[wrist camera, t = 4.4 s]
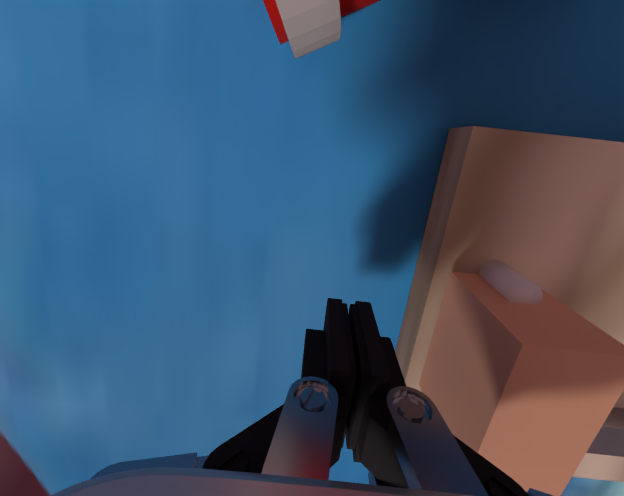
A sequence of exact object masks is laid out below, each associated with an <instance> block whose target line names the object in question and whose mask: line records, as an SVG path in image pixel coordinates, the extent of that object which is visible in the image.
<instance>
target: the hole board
mask: <svg viewBox="0 0 624 496" xmlns="http://www.w3.org/2000/svg"><path fill="white" fill-rule="evenodd" d="M491 260H500V261H502V262H503V263H505V264H506V265H508V266H509V267H511V268H512V269H514V270H515V271H516V272H518V273H519V274H521V275H522V276H524V277H525V278H527V279H528V280H530V281H531V282H533V283H534V284H536V285H537V286H539V287H540V288H541V289H543V290H544V291H546V292H547V293H548V294H550V295H551V296H553V297H554V298H556V299H557V300H559V301H560V302H562V303H563V304H565V305H566V306H568V307H569V308H570V309H572V310H573V311H575V312H576V313H578V314H579V315H581V316H582V317H584V318H585V319H587V320H588V321H590V322H591V323H592V324H594V325H595V326H597V327H598V328H600V329H601V330H603V331H604V332H606V333H607V334H609V335H610V336H612V337H613V338H614V339H616V340H617V341H619V342H620V343H622V344H623V345H624V142H616V141H607V140H598V139H589V138H579V137H570V136H561V135H552V134H543V133H534V132H524V131H515V130H506V129H497V128H488V127H479V126H467V127H457V128H450V129H449V133H448V137H447V141H446V145H445V149H444V153H443V157H442V162H441V166H440V170H439V174H438V178H437V182H436V186H435V191H434V195H433V199H432V203H431V207H430V211H429V215H428V219H427V224H426V228H425V232H424V236H423V240H422V244H421V248H420V252H419V257H418V261H417V265H416V269H415V273H414V277H413V281H412V286H411V290H410V294H409V298H408V302H407V306H406V310H405V314H404V319H403V323H402V327H401V331H400V335H399V339H398V343H397V347H396V352H395V354H396V356H397V359H398V362H399V365H400V368H401V371H402V374H403V377H404V380H405V383H406V386H407V387H411V388H414V389H417V390H419V391H421V388H420V386H419V382H420V378H421V375H422V371H423V368H424V364H425V361H426V357H427V354H428V350H429V347H430V343H431V340H432V336H433V333H434V329H435V326H436V323H437V319H438V316H439V312H440V309H441V305H442V302H443V298H444V295H445V291H446V288H447V284H448V281H449V277H450V274H451V271H452V272H461V273H471V274H479V271H480V269H481V267H482V266H483V265H484V264H485V263H486V262H488V261H491ZM421 392H422V391H421ZM614 407H616V408H624V390H623V392H622V393H621V395H620V397H619V398H618V400H617V402H616V403H615V405H614ZM572 477H581V478H591V479H600V480H609V481H618V482H624V457H619V456H610V455H600V454H591V453H586V454H585V456H584V457H583V459H582V461H581V462H580V464H579V466H578V467H577V469H576V471H575V472H574V474H573V476H572Z"/></svg>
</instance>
